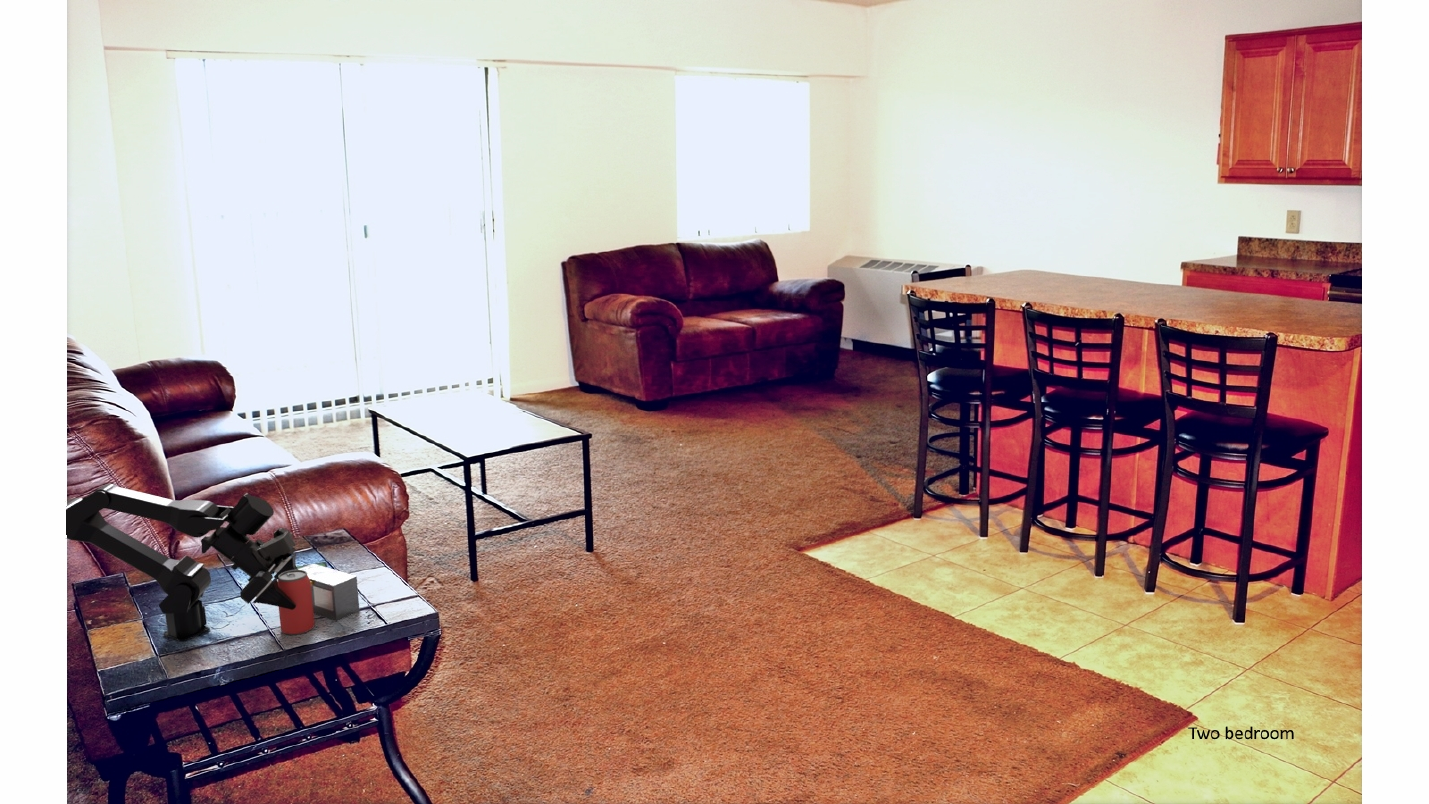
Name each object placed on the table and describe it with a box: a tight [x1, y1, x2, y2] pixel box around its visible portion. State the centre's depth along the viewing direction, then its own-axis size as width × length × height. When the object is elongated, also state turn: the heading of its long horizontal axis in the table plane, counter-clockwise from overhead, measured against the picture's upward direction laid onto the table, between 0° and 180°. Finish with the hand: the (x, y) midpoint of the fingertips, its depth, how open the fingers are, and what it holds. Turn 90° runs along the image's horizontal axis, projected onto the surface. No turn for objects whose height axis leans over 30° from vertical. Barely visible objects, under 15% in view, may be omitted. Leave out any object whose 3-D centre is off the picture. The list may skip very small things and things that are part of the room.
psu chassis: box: [298, 563, 361, 622], centre depth 228 cm, size 6×14×8 cm, turn 58°
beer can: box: [277, 570, 316, 636], centre depth 219 cm, size 7×7×12 cm
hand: (301, 598), depth 218 cm, fingers open, 9 cm apart
